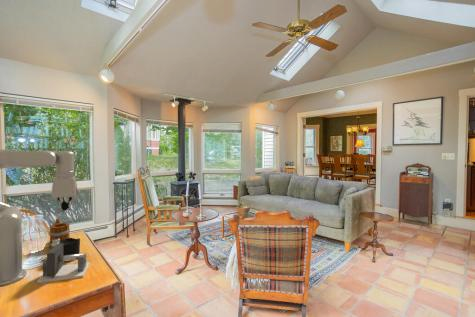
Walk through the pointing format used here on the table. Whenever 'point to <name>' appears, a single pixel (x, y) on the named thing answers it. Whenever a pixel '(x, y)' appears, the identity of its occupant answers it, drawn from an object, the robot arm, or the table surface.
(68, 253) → the pen holder
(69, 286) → the table surface
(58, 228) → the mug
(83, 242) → the table surface
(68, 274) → the base board
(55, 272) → the collar
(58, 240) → the valve
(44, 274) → the pipe
